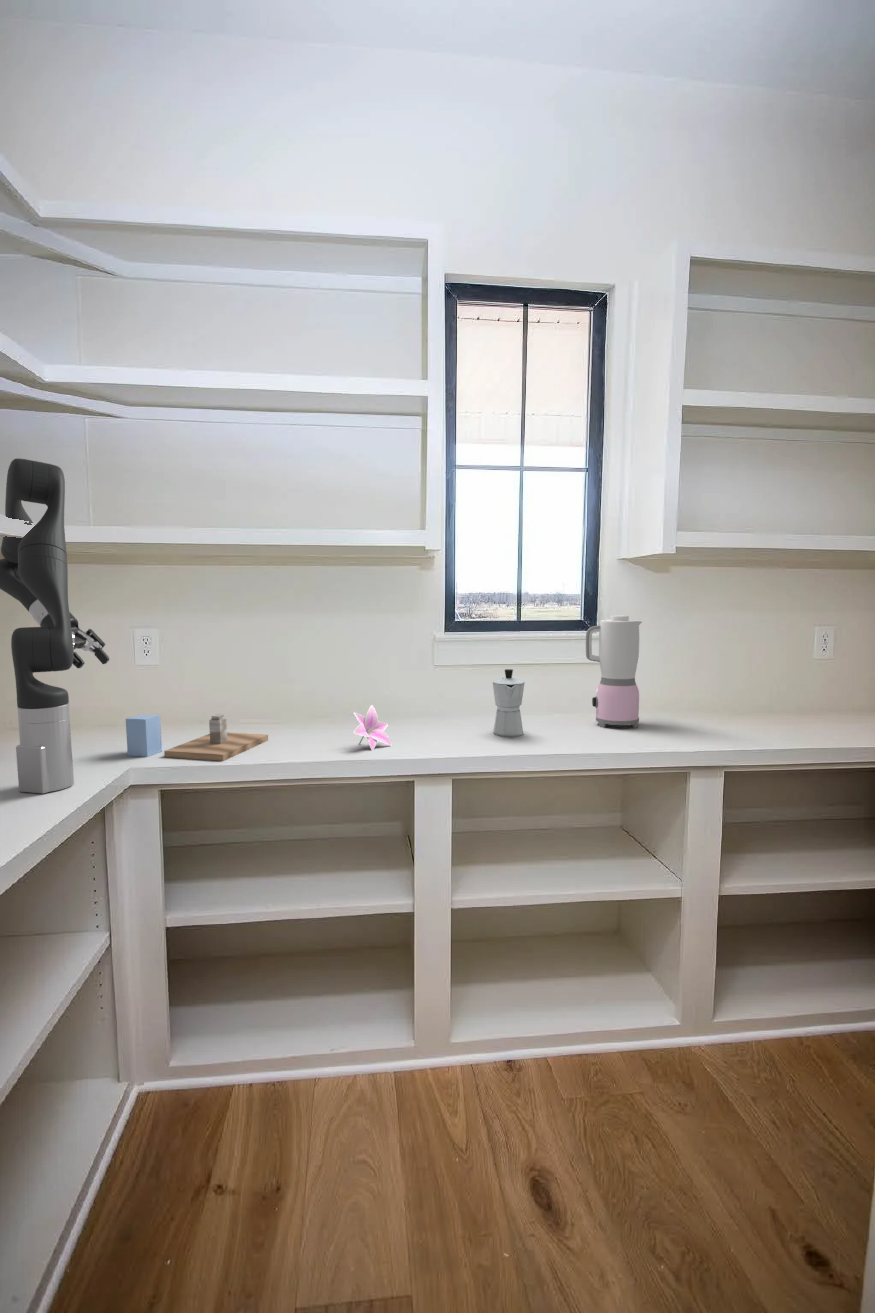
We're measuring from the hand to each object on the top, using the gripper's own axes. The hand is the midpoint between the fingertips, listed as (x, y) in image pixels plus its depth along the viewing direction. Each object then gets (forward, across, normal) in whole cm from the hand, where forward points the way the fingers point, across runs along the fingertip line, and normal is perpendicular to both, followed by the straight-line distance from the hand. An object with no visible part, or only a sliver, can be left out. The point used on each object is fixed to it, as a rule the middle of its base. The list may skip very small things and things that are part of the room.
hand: (94, 663), depth 171 cm
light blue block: (+25, 0, +6) cm, 26 cm away
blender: (+104, +61, -73) cm, 141 cm away
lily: (+62, +20, -31) cm, 72 cm away
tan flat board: (+36, +9, -5) cm, 37 cm away
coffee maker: (+84, +44, -53) cm, 109 cm away
